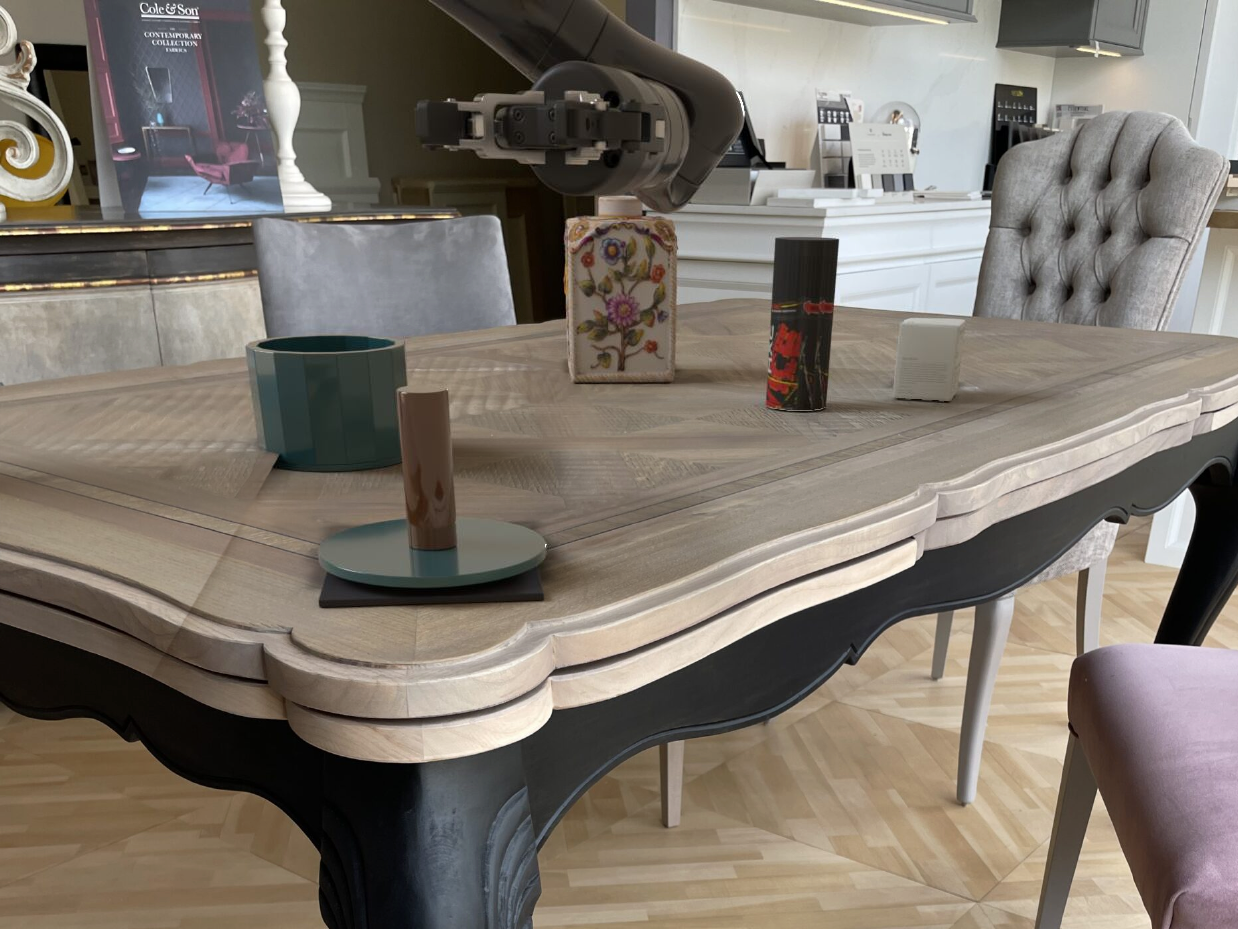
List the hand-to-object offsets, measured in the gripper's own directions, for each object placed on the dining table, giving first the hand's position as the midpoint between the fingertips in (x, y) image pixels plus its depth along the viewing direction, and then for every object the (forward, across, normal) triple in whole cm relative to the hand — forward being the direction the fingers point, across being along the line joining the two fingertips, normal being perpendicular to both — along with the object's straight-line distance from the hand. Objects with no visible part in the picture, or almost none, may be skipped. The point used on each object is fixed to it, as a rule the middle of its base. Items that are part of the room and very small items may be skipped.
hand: (490, 122), depth 70 cm
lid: (+10, 0, +22) cm, 24 cm away
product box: (-66, +17, +23) cm, 71 cm away
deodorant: (-54, +6, +23) cm, 59 cm away
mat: (+10, 0, +23) cm, 25 cm away
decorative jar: (-67, -18, +23) cm, 73 cm away
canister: (-16, -23, +23) cm, 36 cm away
